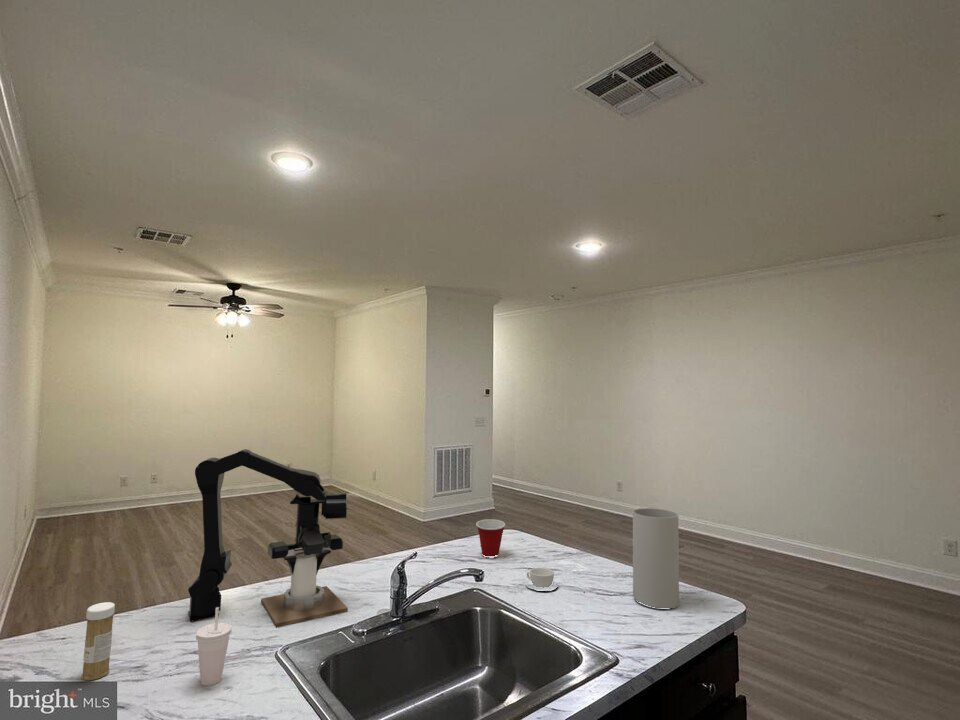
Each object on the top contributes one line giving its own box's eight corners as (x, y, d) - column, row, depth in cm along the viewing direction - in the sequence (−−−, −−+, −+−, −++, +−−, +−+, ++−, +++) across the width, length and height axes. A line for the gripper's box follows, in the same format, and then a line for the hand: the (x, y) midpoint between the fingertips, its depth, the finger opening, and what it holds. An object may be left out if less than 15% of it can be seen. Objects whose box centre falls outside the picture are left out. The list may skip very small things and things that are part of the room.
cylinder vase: (664, 614, 135) (664, 520, 137) (624, 600, 145) (624, 511, 147) (687, 603, 144) (686, 514, 145) (647, 590, 153) (647, 506, 155)
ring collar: (289, 613, 128) (289, 601, 129) (279, 600, 137) (280, 589, 137) (328, 605, 134) (328, 594, 134) (316, 593, 142) (317, 582, 142)
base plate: (276, 627, 123) (276, 623, 123) (260, 602, 138) (261, 598, 138) (347, 611, 133) (347, 607, 133) (326, 589, 148) (326, 586, 148)
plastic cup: (472, 560, 178) (473, 525, 179) (477, 551, 188) (478, 518, 189) (503, 562, 176) (503, 527, 177) (506, 553, 187) (507, 520, 188)
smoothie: (204, 693, 95) (208, 616, 96) (185, 682, 99) (190, 608, 100) (235, 677, 101) (239, 605, 102) (217, 668, 104) (221, 598, 105)
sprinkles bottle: (78, 675, 100) (84, 606, 101) (106, 666, 104) (111, 599, 105) (84, 684, 97) (90, 612, 98) (112, 674, 101) (118, 605, 102)
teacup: (563, 585, 156) (563, 570, 156) (550, 596, 147) (550, 579, 147) (533, 579, 161) (534, 564, 161) (519, 588, 152) (519, 572, 153)
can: (306, 606, 131) (308, 559, 132) (284, 603, 133) (286, 557, 134) (320, 597, 138) (321, 552, 138) (299, 594, 139) (301, 550, 140)
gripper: (278, 530, 125) (275, 595, 124) (351, 522, 136) (348, 581, 134) (268, 521, 134) (265, 581, 133) (337, 513, 145) (334, 569, 144)
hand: (304, 578), depth 136 cm, fingers closed on can, 5 cm apart
